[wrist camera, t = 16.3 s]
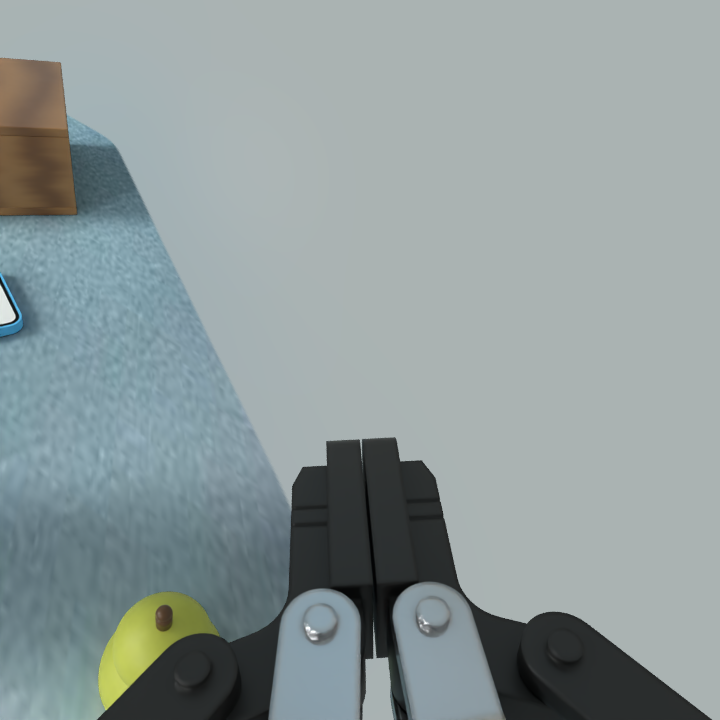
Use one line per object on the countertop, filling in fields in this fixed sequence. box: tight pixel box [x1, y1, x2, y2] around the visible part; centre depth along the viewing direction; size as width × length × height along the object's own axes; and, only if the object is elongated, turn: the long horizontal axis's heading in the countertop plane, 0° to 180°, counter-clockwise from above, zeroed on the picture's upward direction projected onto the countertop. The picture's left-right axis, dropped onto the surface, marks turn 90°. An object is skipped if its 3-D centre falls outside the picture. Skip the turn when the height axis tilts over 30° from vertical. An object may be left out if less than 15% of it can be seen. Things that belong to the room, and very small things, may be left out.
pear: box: [98, 592, 220, 710], centre depth 30 cm, size 6×6×10 cm
